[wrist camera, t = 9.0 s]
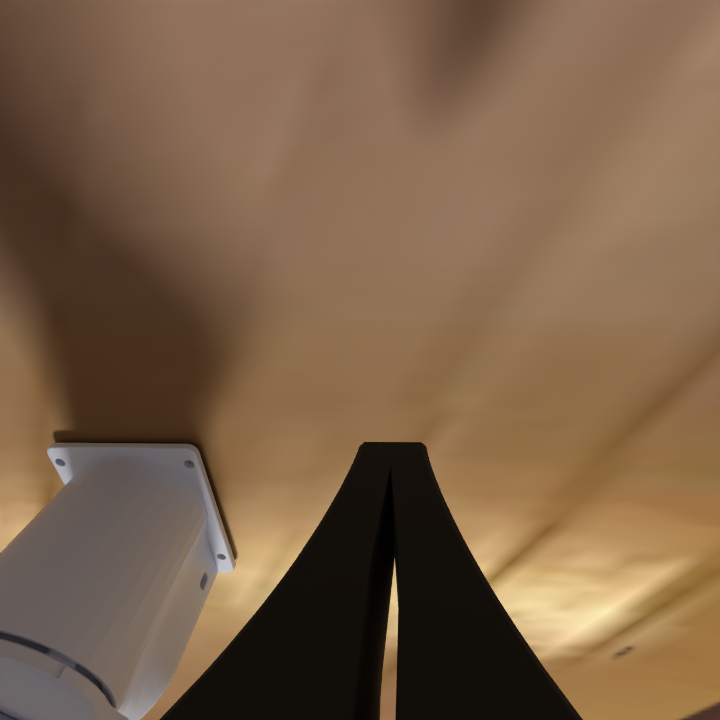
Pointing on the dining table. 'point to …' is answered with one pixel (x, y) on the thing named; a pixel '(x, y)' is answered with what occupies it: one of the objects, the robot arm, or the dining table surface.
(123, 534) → the robot arm
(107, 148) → the dining table surface
